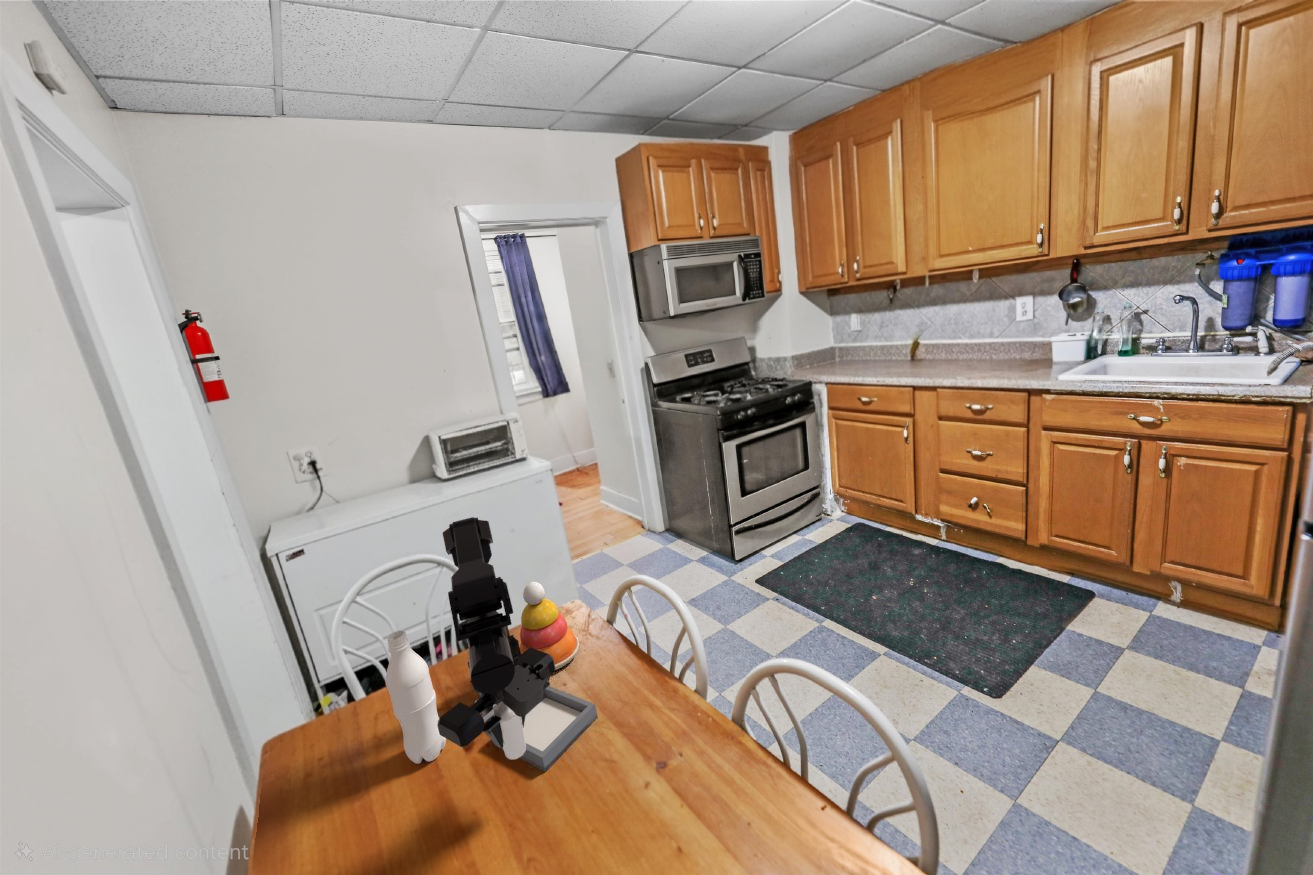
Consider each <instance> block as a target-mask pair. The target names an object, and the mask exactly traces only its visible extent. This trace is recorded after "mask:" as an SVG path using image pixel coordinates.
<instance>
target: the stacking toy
mask: <svg viewBox="0 0 1313 875" xmlns="http://www.w3.org/2000/svg"><path fill="white" fill-rule="evenodd" d="M522 596H523V599H524V600H523V601H525V603H527V604H526V605H525V607H524V608H523V610H522V613H521V617H520V619H521V620H520V621H521V628H520V631H519V633H520V634H519V636H520V637H519V638H520V643H519V647H520V652H521V654H522V653H524V652H525V651H526V650H527V649H529V648H530V647H531V648H534V649H537V650H539V651H542V652H545V653H548V654H550V655H551V656H552V657H553V659H554V664H555V670H554V671H556V670H559V669H560V668H563V667H564V666H566V665H568V664H569V663H570V662H572V661H573V659H574V658H575V657H576V656H577V653H578V651H579V648H580V639H579V638H578V636H576V635H575V634H574V632H573V631H572V629H571V628H570V627H569V625H568V623H567V620H566V619H565V617H564V616H563V614H561V613H560V610H559V608H558V606H557V605H556V604H555V602H553V601H552V600H550V599H548V598H546V597H545V596H546V593H545V589H544V586H543V585H542V584H541V583H539V582H537V581H531V582H529V583H527V585H525V587H524V589H523V592H522Z"/></svg>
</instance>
